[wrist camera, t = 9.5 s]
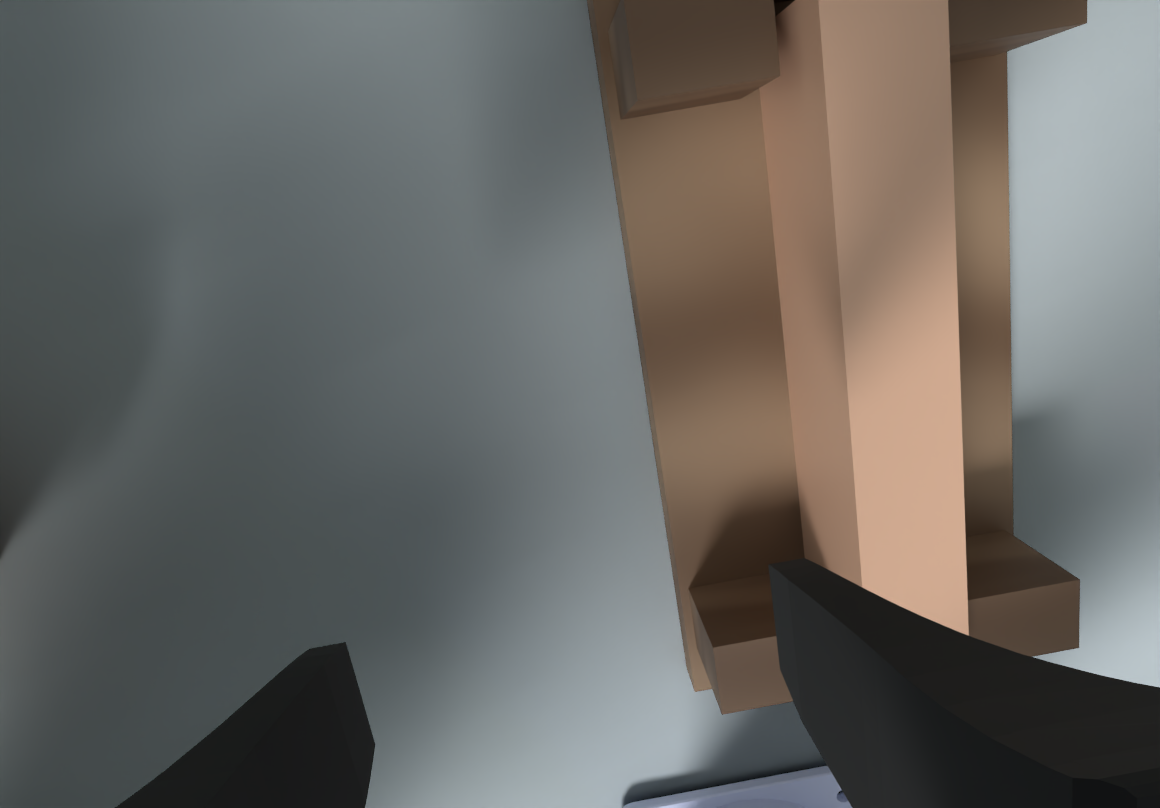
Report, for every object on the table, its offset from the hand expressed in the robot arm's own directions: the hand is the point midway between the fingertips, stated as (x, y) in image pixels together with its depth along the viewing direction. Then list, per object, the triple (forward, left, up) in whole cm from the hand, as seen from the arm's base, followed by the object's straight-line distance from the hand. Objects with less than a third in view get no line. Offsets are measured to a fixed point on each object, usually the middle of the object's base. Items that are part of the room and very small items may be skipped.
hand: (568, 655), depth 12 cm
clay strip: (+2, -8, -8) cm, 12 cm away
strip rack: (+3, -8, -9) cm, 13 cm away
